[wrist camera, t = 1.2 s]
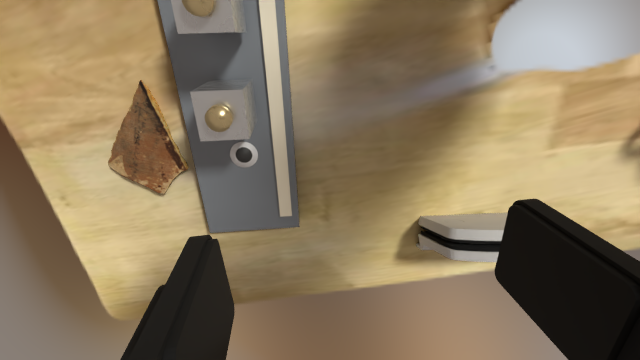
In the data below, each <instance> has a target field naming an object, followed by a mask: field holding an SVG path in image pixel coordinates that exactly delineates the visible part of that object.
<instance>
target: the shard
mask: <svg viewBox="0 0 640 360" xmlns="http://www.w3.org/2000/svg"><path fill="white" fill-rule="evenodd" d="M111 153H112V155H111V157H110V159H109V161H108V165H109V167H111V168H112V169H113V170H115V171H117V172H118V173H119V174H121V175H122V176H124V177H127V178H129V179H131V180H132V181H136V182H138V183H139V184H142V185H144V186H146V187H148V188H150V189H152V190H154V191H155V192H158V193H163V194H164V193H165V192H166V190H167V188H168V187H169V185H170V184H171V182H172V181H173V179H174V178H175V177H176V176H177V175H178V174H180V173H181V172H182V171H185V170H187V169H188V168H189V167H188V165H187V163H186V162H185V160H184V159H183V157H182V155H181V154H180V152H179V148H178V147H177V145H176V144H175V142H174V141H173V139H172V136H171V134H170V131H169V128H168V125H167V124H166V121H165V120H164V117H163V114H162V113H161V110H160V108H159V105H158V104H157V102H156V100H155V98H154V97H153V96H152V94H151V92H150V90H149V89H148V88H147V87H146V85H145V84H144V83H143V82H142V80H140V82H139V85H138V88H137V90H136V92H135V94H134V97H133V103H132V104H131V107H130V109H129V111H128V113H127V115H126V116H125V118H124V120H123V122H122V125H121V128H120V130H119V131H118V134H117V136H116V140H115V142H114V144H113V148H112V150H111Z"/></svg>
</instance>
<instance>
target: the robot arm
mask: <svg viewBox="0 0 640 360" xmlns="http://www.w3.org/2000/svg"><path fill="white" fill-rule="evenodd" d="M495 276H496V279H497V280H498V282H499V283H500V284H501V285H502V286H503V288H504V289H505V290H506V291H507V292H508V293H509V294H510V295H511V296H512V298H513V299H514V300H515V301H516V302H517V303H518V304H519V305H520V306H521V307H522V309H523V310H524V311H525V312H526V313H527V314H528V315H529V316H530V318H531V319H532V320H533V321H534V322H535V323H536V324H537V325H538V326H539V327H540V329H541V330H542V331H543V332H544V333H545V334H546V335H547V336H548V338H550V340H551V341H552V342H553V343H554V344H555V345H556V346H557V348H558V349H559V350H560V351H561V352H562V353H563V354H564V355H565V356H566V357H567V359H568V360H640V261H638V260H636V259H635V258H633V257H631V256H630V255H628V254H626V253H625V252H623V251H622V250H620V249H618V248H617V247H615V246H613V245H612V244H610V243H609V242H607V241H605V240H604V239H602V238H600V237H599V236H597V235H595V234H594V233H592V232H591V231H589V230H587V229H586V228H584V227H582V226H581V225H579V224H577V223H576V222H574V221H573V220H571V219H569V218H568V217H566V216H564V215H563V214H561V213H559V212H558V211H556V210H555V209H553V208H551V207H550V206H548V205H546V204H545V203H543V202H542V201H540V200H538V199H527V200H518V201H515V202H514V203H513V205H512V206H511V207H510V208H509V210H508V214H507V218H506V223H505V227H504V232H503V236H502V241H501V245H500V249H499V254H498V258H497V263H496V267H495ZM233 319H234V303H233V298H232V294H231V290H230V286H229V282H228V278H227V274H226V270H225V266H224V262H223V258H222V254H221V250H220V246H219V242H218V240H217V239H212V237H211V236H210V235H203V236H194V237H189V239H188V240H187V242H186V244H185V246H184V248H183V250H182V253H181V255H180V257H179V259H178V261H177V263H176V265H175V267H174V269H173V271H172V273H171V275H170V277H169V279H168V281H167V283H166V285H162V286H160V287H159V288H158V290H157V291H156V293H155V295H154V297H153V298H152V300H151V302H150V304H149V306H148V308H147V310H146V312H145V314H144V316H143V318H142V319H141V321H140V324H139V325H138V327H137V329H136V331H135V333H134V335H133V337H132V339H131V340H130V342H129V344H128V346H127V348H126V350H125V352H124V354H123V356H122V358H121V360H226V355H227V350H228V345H229V340H230V334H231V329H232V324H233Z"/></svg>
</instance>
